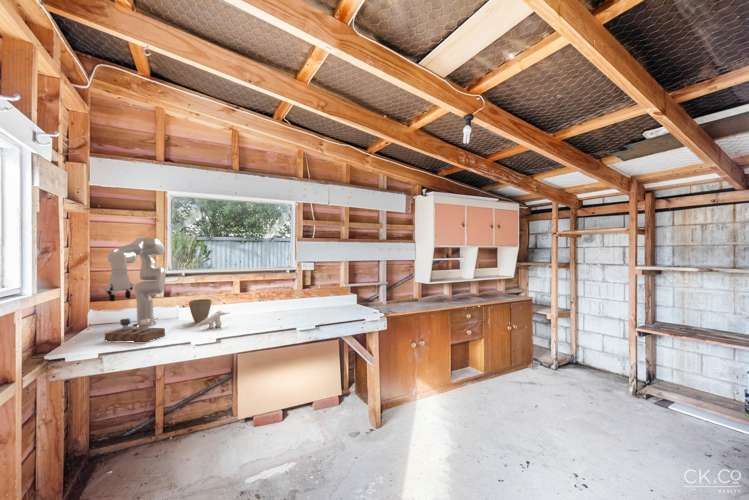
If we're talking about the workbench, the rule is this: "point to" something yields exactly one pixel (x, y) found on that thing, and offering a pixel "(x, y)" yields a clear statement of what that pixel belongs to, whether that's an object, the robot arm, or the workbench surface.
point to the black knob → (125, 323)
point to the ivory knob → (145, 324)
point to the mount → (135, 334)
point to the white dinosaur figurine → (213, 319)
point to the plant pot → (200, 309)
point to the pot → (135, 327)
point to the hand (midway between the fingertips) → (120, 299)
